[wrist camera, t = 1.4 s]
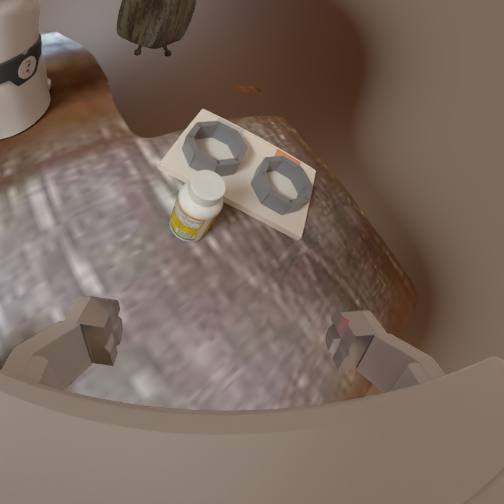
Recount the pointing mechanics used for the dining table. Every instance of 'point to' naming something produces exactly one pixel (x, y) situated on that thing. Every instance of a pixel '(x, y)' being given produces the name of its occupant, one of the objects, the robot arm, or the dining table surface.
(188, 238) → the supplement bottle
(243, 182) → the socket board
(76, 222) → the dining table surface
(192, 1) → the tabletop clock
